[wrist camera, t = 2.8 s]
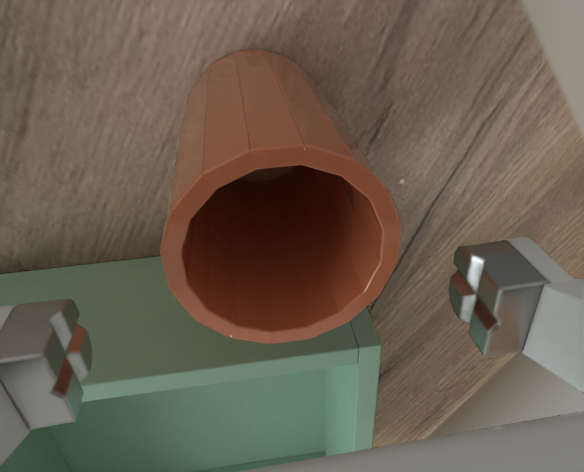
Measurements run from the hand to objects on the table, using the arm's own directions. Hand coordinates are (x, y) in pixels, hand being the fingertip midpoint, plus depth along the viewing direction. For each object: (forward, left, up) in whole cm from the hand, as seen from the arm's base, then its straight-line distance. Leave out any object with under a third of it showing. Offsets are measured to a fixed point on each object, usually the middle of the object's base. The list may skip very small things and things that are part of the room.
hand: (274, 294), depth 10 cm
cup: (0, 0, -10) cm, 10 cm away
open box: (+5, +14, -10) cm, 17 cm away
